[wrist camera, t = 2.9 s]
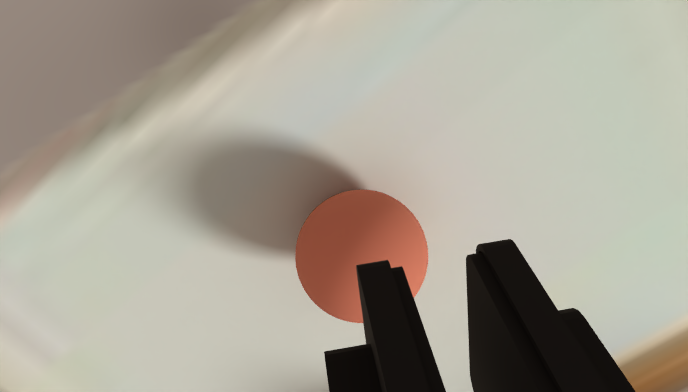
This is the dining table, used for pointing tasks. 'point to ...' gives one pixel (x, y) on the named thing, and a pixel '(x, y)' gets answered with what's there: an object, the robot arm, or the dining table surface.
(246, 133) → the dining table surface
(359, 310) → the ball
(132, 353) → the dining table surface
